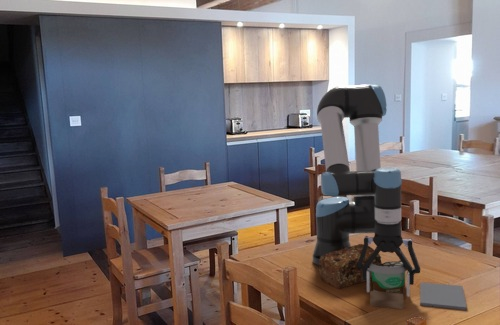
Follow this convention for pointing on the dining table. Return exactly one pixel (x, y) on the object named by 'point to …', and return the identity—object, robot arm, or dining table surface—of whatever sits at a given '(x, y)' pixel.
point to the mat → (442, 296)
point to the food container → (388, 277)
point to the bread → (345, 266)
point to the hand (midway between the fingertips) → (388, 292)
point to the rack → (386, 299)
